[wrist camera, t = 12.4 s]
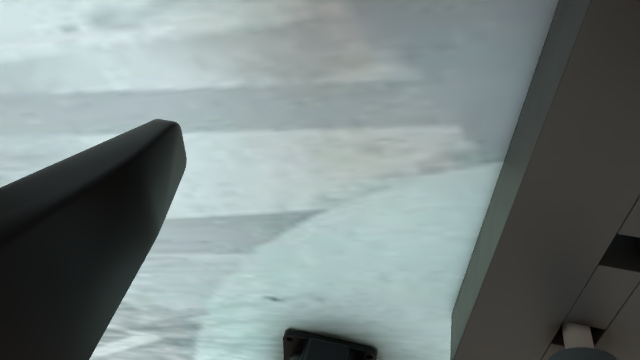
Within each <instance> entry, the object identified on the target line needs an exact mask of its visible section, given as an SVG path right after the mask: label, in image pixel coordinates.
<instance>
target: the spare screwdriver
mask: <svg viewBox="0 0 640 360" xmlns="http://www.w3.org/2000/svg"><path fill="white" fill-rule="evenodd" d="M561 326H562V332H563V338H564V344H565V350H561V351H559V352H557V353H555V354H553V355H552V356H551V357H550V358H549V359H548V360H618V359H617V358H616V357H615V356H613V355H612V354H610V353H608V352H606V351H603V350H599V349H595V348H594V344H593V339H592V335H591V330H590V326H585V325H580V324H575V323H570V322H565V321H563V323H562V325H561Z"/></svg>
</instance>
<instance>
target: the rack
mask: <svg viewBox="0 0 640 360" xmlns="http://www.w3.org/2000/svg"><path fill="white" fill-rule="evenodd" d="M563 321H565V322H570V323H575V324H580V325H585V326H590V330H591V335H592V339H593V344H594V348H595V349H599V350H603V351H606V352H608V353H610V354H612V355H613V356H615V357H616V358H617V359H618V360H640V0H559V3H558V6H557V9H556V12H555V15H554V18H553V21H552V24H551V27H550V29H549V32H548V35H547V38H546V41H545V44H544V47H543V50H542V53H541V56H540V59H539V62H538V64H537V67H536V70H535V73H534V76H533V79H532V82H531V85H530V88H529V91H528V94H527V97H526V99H525V102H524V105H523V108H522V111H521V114H520V117H519V120H518V123H517V126H516V129H515V132H514V134H513V137H512V140H511V143H510V146H509V149H508V152H507V155H506V158H505V161H504V164H503V167H502V170H501V172H500V175H499V178H498V181H497V184H496V187H495V190H494V193H493V196H492V199H491V202H490V205H489V207H488V210H487V213H486V216H485V219H484V222H483V225H482V228H481V231H480V234H479V237H478V240H477V242H476V245H475V248H474V251H473V254H472V257H471V260H470V263H469V266H468V269H467V272H466V275H465V277H464V280H463V283H462V286H461V289H460V292H459V295H458V298H457V301H456V304H455V307H454V310H453V313H452V324H451V358H450V360H548V359H549V358H550V357H551V356H552V355H553V354H555V353H557V352H559V351H561V350H565V344H564V338H563V332H562V326H561V325H562V323H563Z"/></svg>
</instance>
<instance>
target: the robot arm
mask: <svg viewBox="0 0 640 360" xmlns="http://www.w3.org/2000/svg"><path fill="white" fill-rule="evenodd" d="M185 168H186V152H185V147H184V142H183V136H182V131H181V127H180V125H179V124H178V123H177V122H174V121H168V120H162V119H155V120H153V121H150V122H148V123H146V124H144V125H141V126H139V127H137V128H135V129H132V130H130V131H128V132H125V133H123V134H121V135H119V136H116V137H114V138H112V139H110V140H107V141H105V142H103V143H101V144H98V145H96V146H94V147H92V148H89V149H87V150H85V151H82V152H80V153H78V154H76V155H73V156H71V157H69V158H67V159H64V160H62V161H60V162H58V163H55V164H53V165H51V166H48V167H46V168H44V169H42V170H39V171H37V172H35V173H33V174H30V175H28V176H26V177H24V178H21V179H19V180H17V181H14V182H12V183H10V184H8V185H5V186H3V187H1V188H0V360H89V359H90V357H91V355H92V353H93V352H94V350H95V348H96V346H97V344H98V343H99V341H100V339H101V337H102V335H103V334H104V332H105V330H106V328H107V326H108V325H109V323H110V321H111V319H112V317H113V316H114V314H115V312H116V310H117V308H118V307H119V305H120V303H121V301H122V299H123V298H124V296H125V294H126V292H127V290H128V289H129V287H130V285H131V283H132V281H133V280H134V278H135V276H136V274H137V272H138V271H139V269H140V267H141V265H142V263H143V262H144V260H145V258H146V256H147V254H148V253H149V251H150V249H151V247H152V245H153V243H154V242H155V240H156V238H157V236H158V234H159V231H160V229H161V227H162V225H163V222H164V220H165V217H166V215H167V212H168V210H169V208H170V205H171V203H172V200H173V198H174V195H175V193H176V191H177V188H178V186H179V183H180V181H181V178H182V176H183V173H184V171H185ZM283 345H284V360H376V359H377V351H376V350H375V349H374V348H371V347H367V346H362V345H357V344H353V343H348V342H344V341H339V340H334V339H330V338H325V337H320V336H316V335H311V334H307V333H302V332H297V331H293V330H287V331H285V334H284V337H283Z"/></svg>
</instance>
